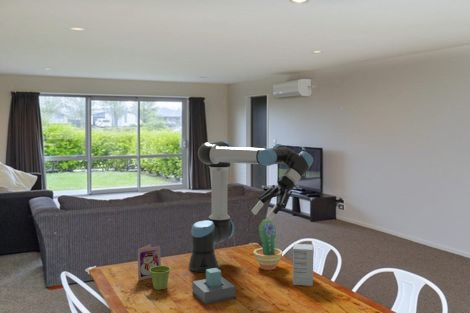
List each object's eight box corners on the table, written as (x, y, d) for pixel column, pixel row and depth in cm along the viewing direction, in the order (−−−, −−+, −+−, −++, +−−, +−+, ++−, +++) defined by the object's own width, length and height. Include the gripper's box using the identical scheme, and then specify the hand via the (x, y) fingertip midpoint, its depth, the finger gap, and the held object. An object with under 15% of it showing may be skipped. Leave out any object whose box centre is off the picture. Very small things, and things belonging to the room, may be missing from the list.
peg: (206, 292, 183) (205, 269, 182) (216, 290, 185) (216, 267, 184) (210, 296, 178) (210, 273, 178) (221, 294, 181) (221, 271, 180)
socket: (192, 292, 185) (192, 281, 185) (221, 286, 191) (221, 276, 191) (204, 304, 172) (204, 292, 172) (235, 297, 179) (235, 286, 178)
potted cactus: (248, 269, 214) (248, 221, 212) (258, 260, 228) (258, 215, 227) (278, 273, 208) (277, 223, 206) (286, 264, 222) (286, 217, 221)
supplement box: (312, 286, 191) (313, 249, 190) (292, 285, 193) (292, 248, 192) (313, 279, 200) (313, 244, 199) (293, 277, 202) (293, 243, 201)
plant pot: (174, 285, 194) (174, 266, 193) (164, 292, 185) (164, 273, 184) (156, 282, 197) (156, 264, 196) (145, 290, 188) (145, 271, 188)
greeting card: (139, 281, 200) (138, 250, 198) (133, 276, 206) (132, 246, 205) (161, 276, 206) (160, 246, 205) (155, 272, 212) (155, 242, 211)
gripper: (309, 188, 184) (281, 226, 179) (279, 182, 207) (252, 215, 201) (299, 177, 182) (270, 215, 176) (269, 172, 204) (242, 205, 198)
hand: (260, 215), depth 188 cm, fingers open, 13 cm apart
